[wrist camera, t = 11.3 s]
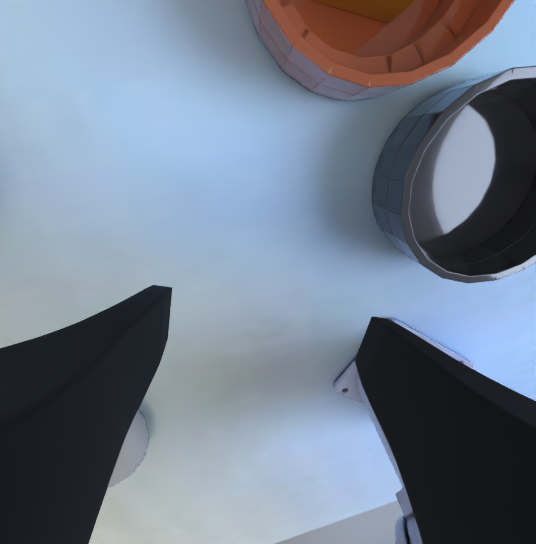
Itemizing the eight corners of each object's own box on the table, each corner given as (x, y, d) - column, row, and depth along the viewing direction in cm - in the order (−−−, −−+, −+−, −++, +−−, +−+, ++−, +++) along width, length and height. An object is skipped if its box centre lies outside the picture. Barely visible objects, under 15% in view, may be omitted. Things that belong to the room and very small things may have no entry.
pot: (572, 151, 19) (650, 151, 15) (452, 284, 22) (493, 311, 19) (456, 39, 16) (517, 7, 13) (338, 210, 20) (359, 225, 16)
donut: (154, 461, 28) (154, 381, 24) (142, 502, 25) (140, 417, 21) (39, 457, 27) (20, 372, 23) (12, 499, 23) (-16, 409, 20)
